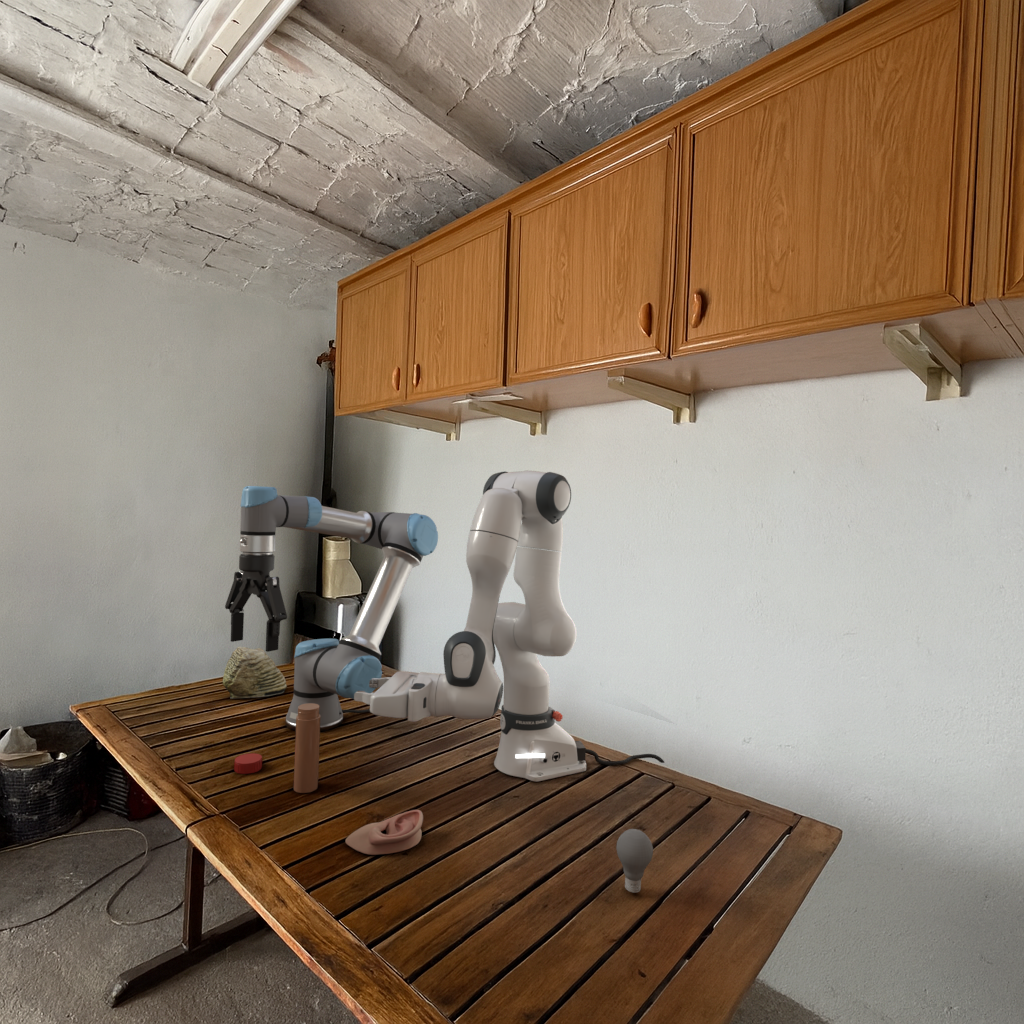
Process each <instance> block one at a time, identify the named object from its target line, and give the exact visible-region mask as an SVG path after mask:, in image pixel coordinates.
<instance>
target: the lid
mask: <svg viewBox="0 0 1024 1024" xmlns="http://www.w3.org/2000/svg"><path fill="white" fill-rule="evenodd" d="M262 768H263V755H261V754H260V753H256V752H255V753H253V752H252V753H251V752H250V753H244V754H240V755H238V756H236V757H234V763H233V771H234V772H235V773H236V774H240V775H248V774H253V773H257V772H259V771H260V770H261V769H262Z"/></svg>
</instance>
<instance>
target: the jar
mask: <svg viewBox="0 0 1024 1024" xmlns="http://www.w3.org/2000/svg"><path fill="white" fill-rule="evenodd" d="M319 709H320V706H319V705H318V704H314V703H307V704H302V705H300V706H298V715H297V716H296V731H295V739H294V765H293V766H294V767H293V791H294V792H296V793H298V794H307V793H312V792H315V791H316V790H317V789H318V787H319V767H320V764H319V763H320V741H321V731H320V718H321V715H320V714H319Z"/></svg>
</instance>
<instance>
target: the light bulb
mask: <svg viewBox="0 0 1024 1024" xmlns="http://www.w3.org/2000/svg"><path fill="white" fill-rule="evenodd" d="M615 849H616V854H617V857H618V859H619V861H620V863H621V865H622V867H623V873H624V874H623V875H624V876H625V878H624V888H625V890H627V891H628V892H630V893H634V894H635V893H639V892H640V891H641V889H642V887H641V886H642V879H643V877H644V875H645V871H646V868H647V867H648V866H649V864H650V863H651V861H652V859H653V855H654V847H653V843H652V841H651V838H649V836H648V835H647V834H646V833H645V832H643V831H642V830H641V829H636V828H629V829H627V830H625V831H623V832H622V833H621V834H620V835H619V837H618V839H617V841H616V847H615Z"/></svg>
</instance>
